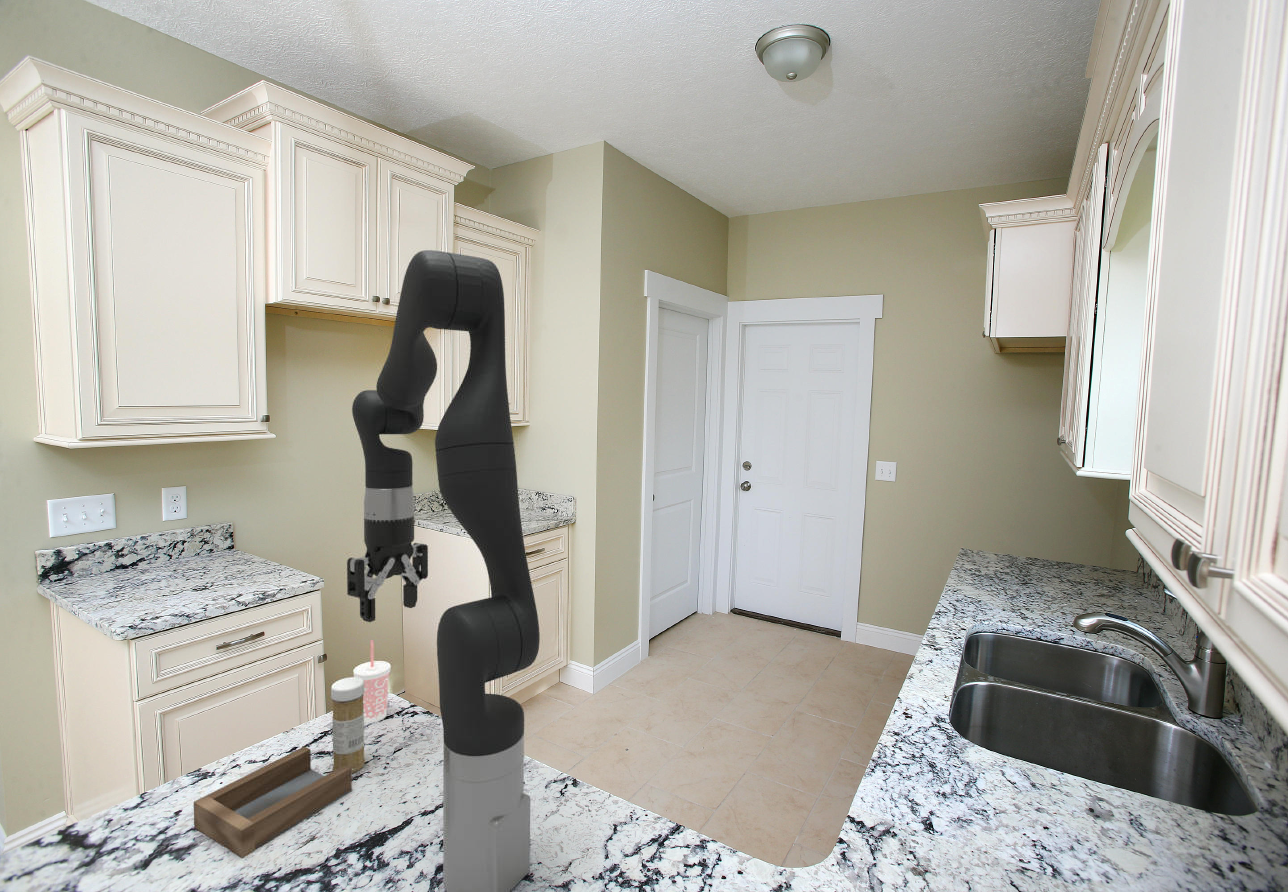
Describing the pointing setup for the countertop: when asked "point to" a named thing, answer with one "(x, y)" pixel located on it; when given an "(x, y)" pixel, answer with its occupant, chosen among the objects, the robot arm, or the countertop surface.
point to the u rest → (268, 802)
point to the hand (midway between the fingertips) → (390, 613)
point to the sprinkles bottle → (348, 723)
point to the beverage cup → (374, 687)
